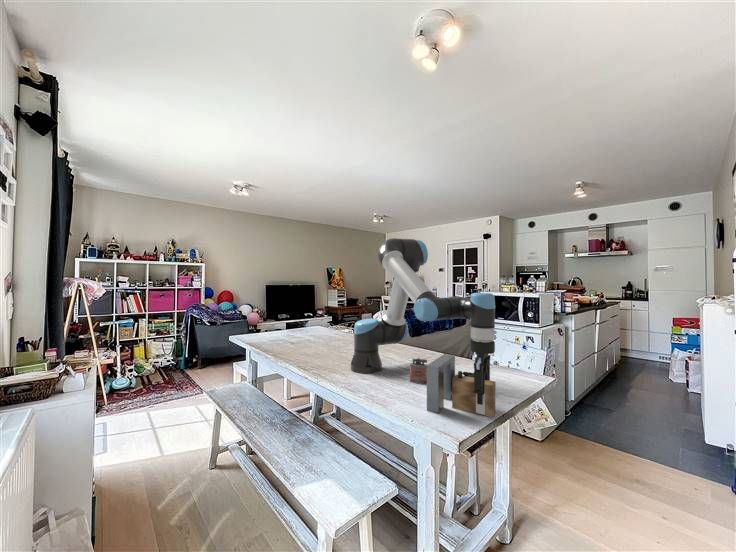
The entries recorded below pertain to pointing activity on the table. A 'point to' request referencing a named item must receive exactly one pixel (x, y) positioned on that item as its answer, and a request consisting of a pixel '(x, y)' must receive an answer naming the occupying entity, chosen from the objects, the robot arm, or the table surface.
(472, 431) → the table surface
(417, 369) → the lighter
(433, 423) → the table surface
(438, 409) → the housing
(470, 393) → the plug
